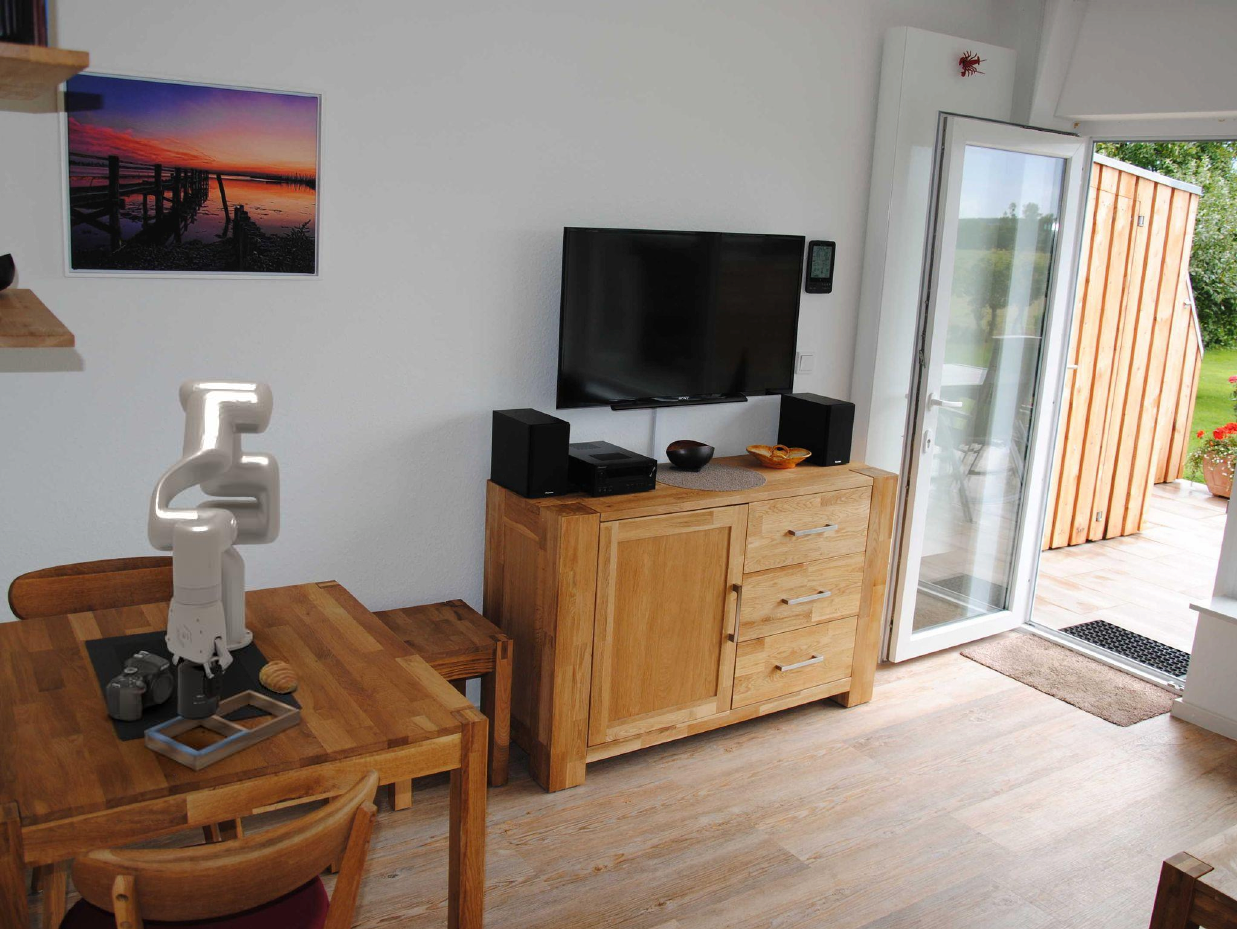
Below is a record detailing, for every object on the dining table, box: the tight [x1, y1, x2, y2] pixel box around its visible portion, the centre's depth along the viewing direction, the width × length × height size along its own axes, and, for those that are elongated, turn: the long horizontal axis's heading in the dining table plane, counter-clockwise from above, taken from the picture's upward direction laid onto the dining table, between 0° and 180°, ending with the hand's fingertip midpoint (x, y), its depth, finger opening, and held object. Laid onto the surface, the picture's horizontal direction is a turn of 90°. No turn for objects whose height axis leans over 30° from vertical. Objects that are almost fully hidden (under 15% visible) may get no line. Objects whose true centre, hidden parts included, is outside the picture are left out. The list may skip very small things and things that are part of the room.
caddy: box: [143, 689, 301, 771], centre depth 186 cm, size 14×22×3 cm, turn 150°
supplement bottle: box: [176, 655, 221, 720], centre depth 179 cm, size 7×7×12 cm
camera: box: [104, 650, 174, 722], centre depth 194 cm, size 13×10×10 cm
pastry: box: [258, 660, 298, 695], centre depth 207 cm, size 9×7×4 cm
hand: (198, 689), depth 180 cm, fingers closed on supplement bottle, 6 cm apart
